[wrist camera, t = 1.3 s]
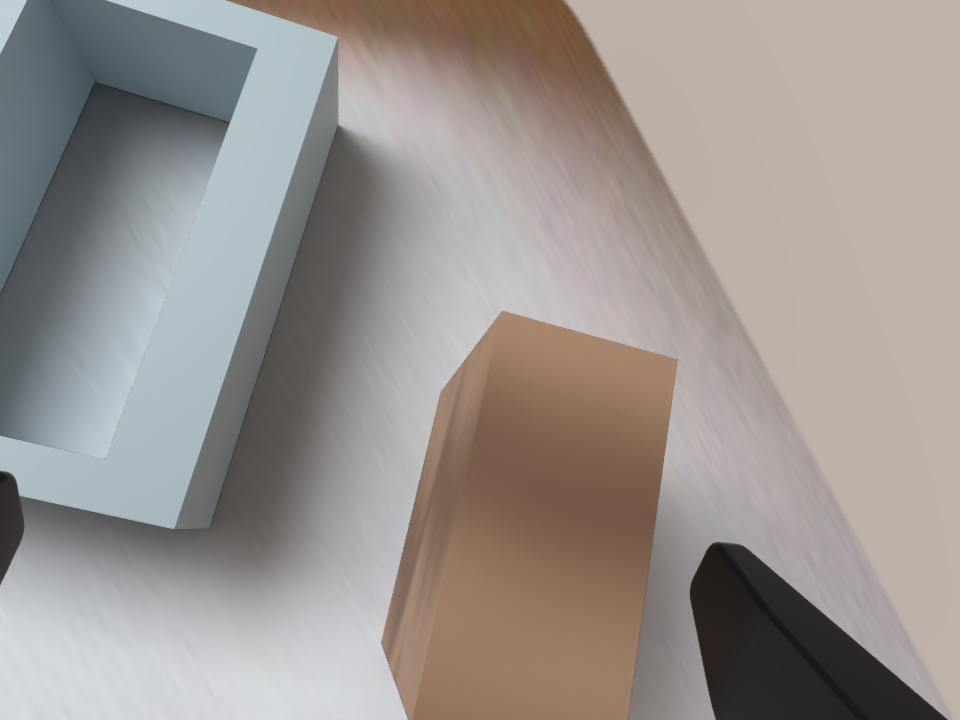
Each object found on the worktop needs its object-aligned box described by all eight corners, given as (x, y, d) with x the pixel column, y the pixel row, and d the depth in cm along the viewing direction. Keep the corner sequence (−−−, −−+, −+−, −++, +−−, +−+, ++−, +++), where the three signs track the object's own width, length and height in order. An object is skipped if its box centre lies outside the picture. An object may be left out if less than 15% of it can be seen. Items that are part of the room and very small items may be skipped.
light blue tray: (209, 528, 20) (174, 529, 16) (-153, 449, 19) (-299, 427, 15) (338, 123, 24) (338, 36, 20) (46, 33, 23) (-22, -80, 18)
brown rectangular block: (506, 668, 21) (621, 765, 12) (380, 642, 20) (410, 727, 12) (552, 420, 23) (677, 359, 15) (441, 391, 23) (502, 310, 14)
